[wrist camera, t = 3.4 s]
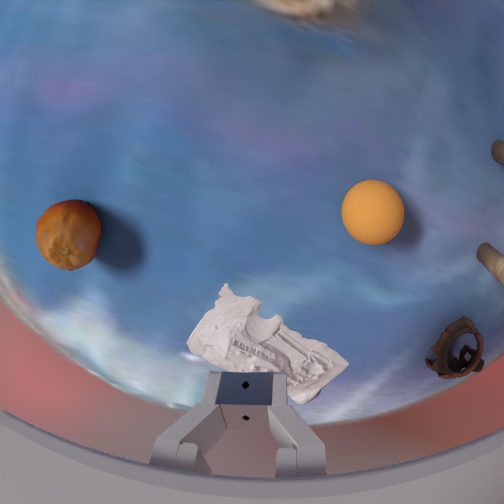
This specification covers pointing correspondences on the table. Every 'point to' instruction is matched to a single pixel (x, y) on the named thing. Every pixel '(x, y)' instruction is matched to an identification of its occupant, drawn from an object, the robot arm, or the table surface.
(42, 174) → the table surface
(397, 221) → the ball
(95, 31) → the table surface
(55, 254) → the fruit
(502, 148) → the post
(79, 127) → the table surface
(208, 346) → the terrain model
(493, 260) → the post
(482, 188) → the table surface
